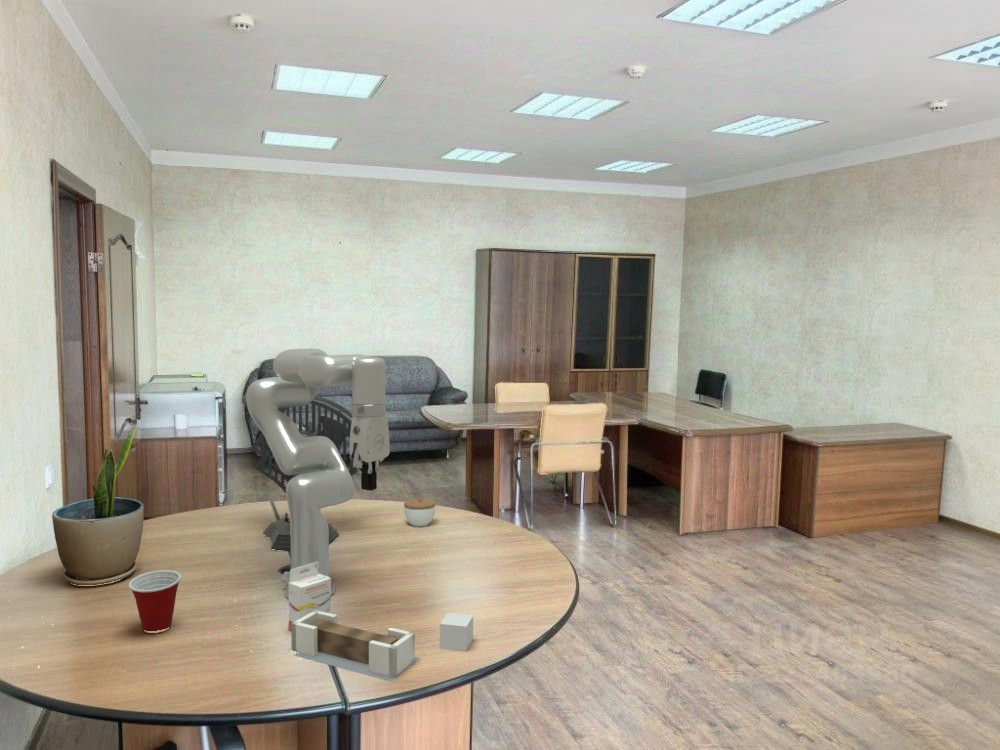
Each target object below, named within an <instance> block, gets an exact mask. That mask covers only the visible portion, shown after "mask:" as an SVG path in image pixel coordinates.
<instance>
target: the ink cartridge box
mask: <svg viewBox="0 0 1000 750" xmlns="http://www.w3.org/2000/svg"><path fill="white" fill-rule="evenodd" d="M304 569H310V570H309V571H308V572H304V573H301V574H300V571H303V570H304ZM289 572H290V578H289V599H288V632H291V623H293V622H295V621H297V620H299V619H300V618H302V617H304V616H306V615H307V614H309V613H311V612H313V611H315V610H318V611H322V612H326V613H331V611H332V610H331V609H332V606H331V605H332V604H331V603H332V598H331V597H332V595H331V583H332V578H331V577H330V576H329V577H327V576H325V575H322V574H319V562H314V563H311V564H307V565H304V566H300V567H297V568H294V569H291V568H290V570H289ZM331 614H332V613H331Z"/></svg>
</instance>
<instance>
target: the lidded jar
mask: <svg viewBox="0 0 1000 750" xmlns="http://www.w3.org/2000/svg"><path fill="white" fill-rule="evenodd" d="M403 505H404V508H403V509H404V516H405V519H406V521H407V522H408V523H409V524H410V525H411V526H412V527H416V528H417V527H419V528H421V527H426V526H429V524H430V523H431V522H432V520H433V518H434V517H435V513H436V501H435V500H433V499H431V498H422V497H421V496H419V497H418V498H411V499H407V500H405V501H404V503H403Z"/></svg>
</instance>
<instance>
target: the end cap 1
mask: <svg viewBox="0 0 1000 750" xmlns="http://www.w3.org/2000/svg"><path fill="white" fill-rule="evenodd" d="M320 620H323V621H327V622H332V623H336V624H338V614H334V613H326V612H322V611H318V610H315V611H313V612H311V613H309V614H307V615H306V616H304V617H302V618H300V619H299V620H297V621H295V622H293V623H291V631H290V632H291V639H290V641H291V649H292V650H293V651H296V652H299V653H303V654H307V655H311V656H315V655H317V654H318V643H317V627H316V626H312V625H313V624H315V623H316V622H318V621H320Z"/></svg>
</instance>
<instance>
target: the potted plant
mask: <svg viewBox="0 0 1000 750" xmlns="http://www.w3.org/2000/svg"><path fill="white" fill-rule="evenodd" d="M137 429H138V428H134V429H132V431H131V432H130V433H129V434H128V435H127V438H126V439H125V441H124V443H123V446H122V449H121V452H120V454H119V458H118V462H117V464H116V459H115V457H114V452H113V450H112V449H110V450H109V447H106V448H105V449H104V455H103V459H102V463H101V464H100V468H99V471H98V475H97V479H96V485H95V483H94V482H91V484H92V489H93V496H92V498H91V499H85V500H80V501H77V502H73V503H69V504H66V505H63V506H60V507H59V508H57V509H55V510H54V511H52V514H51V516H52V519H51V520H52V526H53V527H52V528H53V534H54V539H55V544H56V548H57V553H58V556H59V560H60V562H61V564H62V566H63V568H64V570H65V571H64V572H63V578H64V579H65V580H66V581H67V583H68V584H70V583H72V584H76V585H97V584H104V583H109V582H112V581H116V580H119V579H122V578H125V577H127V576H128V577H130V576H131V575H132V574H133V573H134V572H135V570H136V568H137V562H136V560H137V557H138V555H139V552H140V547H141V542H142V538H143V537H142V536H143V531H144V514H145V513H144V504H143V502H141V501H140V500H138V499H134V498H128V497H119V496H118V497H117V496H115V491H116V483H117V478H118V475H119V473H120V472H121V471H122V468H123V466H124V464H125V463H126V461H127V459H128V456H129V453H130V451H131V447H132V442H133V439H134V437H135V433H136V431H137ZM129 575H130V576H129ZM128 577H127V578H128ZM125 579H126V578H125ZM72 584H71V585H72Z"/></svg>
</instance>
